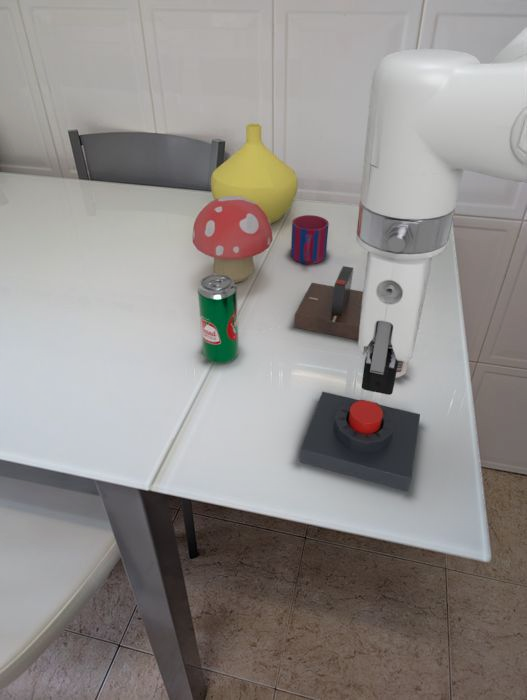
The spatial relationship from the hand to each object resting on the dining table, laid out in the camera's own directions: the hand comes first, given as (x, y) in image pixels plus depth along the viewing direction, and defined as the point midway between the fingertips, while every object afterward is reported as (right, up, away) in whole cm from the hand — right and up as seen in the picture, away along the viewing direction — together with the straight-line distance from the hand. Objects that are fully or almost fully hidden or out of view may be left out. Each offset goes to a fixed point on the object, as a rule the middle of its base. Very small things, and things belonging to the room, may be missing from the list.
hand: (377, 387), depth 52 cm
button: (-1, -4, +4) cm, 6 cm away
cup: (-4, +21, +42) cm, 47 cm away
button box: (-1, -7, +6) cm, 9 cm away
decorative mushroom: (-17, +16, +35) cm, 42 cm away
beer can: (+5, +1, +17) cm, 17 cm away
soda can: (-18, +3, +19) cm, 26 cm away
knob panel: (0, +9, +26) cm, 28 cm away
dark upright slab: (0, +11, +25) cm, 27 cm away
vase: (-14, +33, +57) cm, 67 cm away
